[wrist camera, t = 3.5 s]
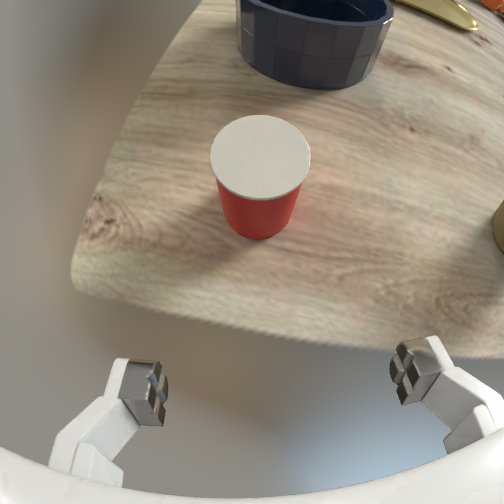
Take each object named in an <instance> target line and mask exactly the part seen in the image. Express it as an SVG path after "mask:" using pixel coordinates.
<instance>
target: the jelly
mask: <svg viewBox="0 0 504 504" xmlns="http://www.w3.org/2000/svg"><path fill="white" fill-rule="evenodd" d="M210 163H211V167H212V170H213V173H214V175H215V177H216V181H217V185H218V190H219V194H220V198H221V202H222V206H223V211H224V214H225V218H226V220H227V222H228V223H229V225H230V226H231V227H232V228H233V229H234V230H235V231H236V232H238V233H239V234H241V235H243V236H246V237H249V238H255V239H262V238H267V237H270V236H273V235H275V234H277V233H278V232H280V231H281V230H282V229H283V228H284V227H285V226H286V224H287V223H288V221H289V219H290V216H291V213H292V210H293V207H294V205H295V202H296V199H297V196H298V193H299V190H300V187H301V184H302V182H303V180H304V179H305V177H306V175H307V172H308V169H309V166H310V150H309V147H308V144H307V142H306V140H305V138H304V137H303V135H302V134H301V133H300V132H299V131H298V130H297V129H296V128H295V127H294V126H293V125H291V124H290V123H288V122H286V121H284V120H282V119H280V118H276V117H273V116H268V115H251V116H246V117H242V118H239V119H237V120H235V121H232V122H231V123H229V124H228V125H226V126H225V127H224V128H223V129H222V130H221V131H220V132H219V133H218V134H217V136H216V137H215V139H214V141H213V143H212V146H211V150H210Z"/></svg>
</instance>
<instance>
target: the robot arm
mask: <svg viewBox="0 0 504 504" xmlns="http://www.w3.org/2000/svg"><path fill="white" fill-rule="evenodd" d="M396 351H397V354H396V355H394V356H393V357H392V359H391V362H390V375H391V378H392V381H393V382H394V383H396V384H397V385H398V388H397V394H398V396H399V399H400V401H401V404H402V405H406V404H410V403H414V402H418V401H421V402H422V403H423V404H424V405H425V406H426V407H427V408H428V409H430V410H431V411H432V412H433V413H434V414H435V415H436V416H437V417H438V418H439V419H441V420H442V421H443V422H444V423H445V424H446V425H447V426H448V427H449V428H450V429H451V430H452V431H451V432H450V433H449V434H448V435H447V436H446V437H445V439H444V441H443V442H444V445H445V448H446V451H447V454H448V455H446V456H443V457H441V458H438V459H436V460H433V461H431V462H428V463H425V464H423V465H420V466H417V467H414V468H412V469H409V470H405V471H402V472H400V473H396V474H393V475H389V476H386V477H382V478H379V479H375V480H371V481H367V482H364V483H359V484H355V485H350V486H345V487H340V488H335V489H330V490H324V491H318V492H311V493H303V494H295V495H285V496H274V497H257V498H205V497H189V496H177V495H168V494H159V493H152V492H145V491H139V490H133V489H128V488H123V487H122V483H123V476H124V472H123V470H122V469H121V468H119V466H117V465H116V464H115V463H113V462H112V460H113V459H114V458H115V457H116V455H117V454H118V453H119V452H120V451H121V449H122V448H123V447H124V446H125V444H126V443H127V442H128V441H129V440H130V438H131V437H132V436H133V435H134V434H135V432H136V431H137V430H138V429H139V428H140V425H148V426H163V424H164V417H165V409H164V407H163V405H162V404H163V403H164V402H165V401H166V400H167V397H168V382H167V378H166V376H165V374H163V373H162V372H161V369H162V366H161V364H160V362H159V361H151V360H136V359H123V358H117V359H116V360H115V361H114V363H113V366H112V369H111V372H110V375H109V378H108V381H107V385H106V388H105V391H104V394H103V397H102V396H99V397H98V398H97V399H96V400H94V401H93V403H91V404H90V405H89V406H88V407H87V408H86V409H84V411H82V412H81V413H80V414H79V415H78V416H77V417H76V418H75V419H73V420H72V421H71V422H70V423H69V424H68V425H67V426H66V427H64V428H63V429H62V430H61V431H60V432H59V433H58V434H57V435H56V438H55V441H54V445H53V448H52V452H51V455H50V459H49V463H48V466H45V465H42V464H39V463H37V462H34V461H32V460H29V459H27V458H25V457H22V456H20V455H17V454H15V453H13V452H11V451H8V450H6V449H4V448H2V447H0V504H504V401H503V399H502V397H501V395H500V394H499V393H497V392H496V391H494V390H493V389H491V388H490V387H488V386H487V385H485V384H483V383H482V382H480V381H479V380H477V379H476V378H474V377H473V376H471V375H470V374H468V373H467V372H465V371H464V370H462V369H461V368H459V367H456V368H455V366H454V365H453V363H452V361H451V359H450V357H449V355H448V354H447V352H446V350H445V348H444V347H443V345H442V343H441V341H440V340H439V338H438V337H437V336H436V335H434V336H429V337H425V338H418V339H414V340H409V341H404V342H400V343H399V344H398V346H397V348H396Z"/></svg>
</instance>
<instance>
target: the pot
mask: <svg viewBox="0 0 504 504" xmlns="http://www.w3.org/2000/svg"><path fill="white" fill-rule="evenodd" d="M393 14H394V9H393V7H392V5H391V3H390V1H389V0H236V21H237V42H238V46H239V50H240V53H241V55H242V56H243V58H244V59H245V60H246V61H247V62H248V63H249V64H250V65H251V66H252V67H253V68H255V69H256V70H257V71H259V72H261V73H262V74H264V75H266V76H268V77H270V78H273V79H275V80H278V81H280V82H283V83H287V84H290V85H294V86H299V87H304V88H311V89H339V88H345V87H349V86H352V85H355V84H357V83H359V82H361V81H362V80H363V79H365V78H366V77H367V76H368V74H369V73H370V72H371V70H372V68H373V65H374V63H375V61H376V58H377V56H378V54H379V51H380V49H381V46H382V44H383V42H384V39H385V37H386V34H387V32H388V29H389V27H390V24H391V22H392V19H393Z"/></svg>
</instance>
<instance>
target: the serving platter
mask: <svg viewBox="0 0 504 504" xmlns="http://www.w3.org/2000/svg"><path fill="white" fill-rule="evenodd" d="M395 1H398V2H400V3H403V4H406V5H408V6H411V7H413V8H416V9H418V10H421V11H423V12H426V13H428V14H430V15H432V16H435V17H437V18H439V19H441V20H443V21H445V22H447V23H449V24H451V25H454V26H456V27H458V28H461V29H465V30H470V31H473V30H477V29H478V23H477V21H476V20H475V18H474V17H473V16H472V15H471V14H470V13H469V12H468V11H467V10H466V9H465V8H464V7H463V6H462V5H461V4H459V3H458V2H457V1H455V0H395Z"/></svg>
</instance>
